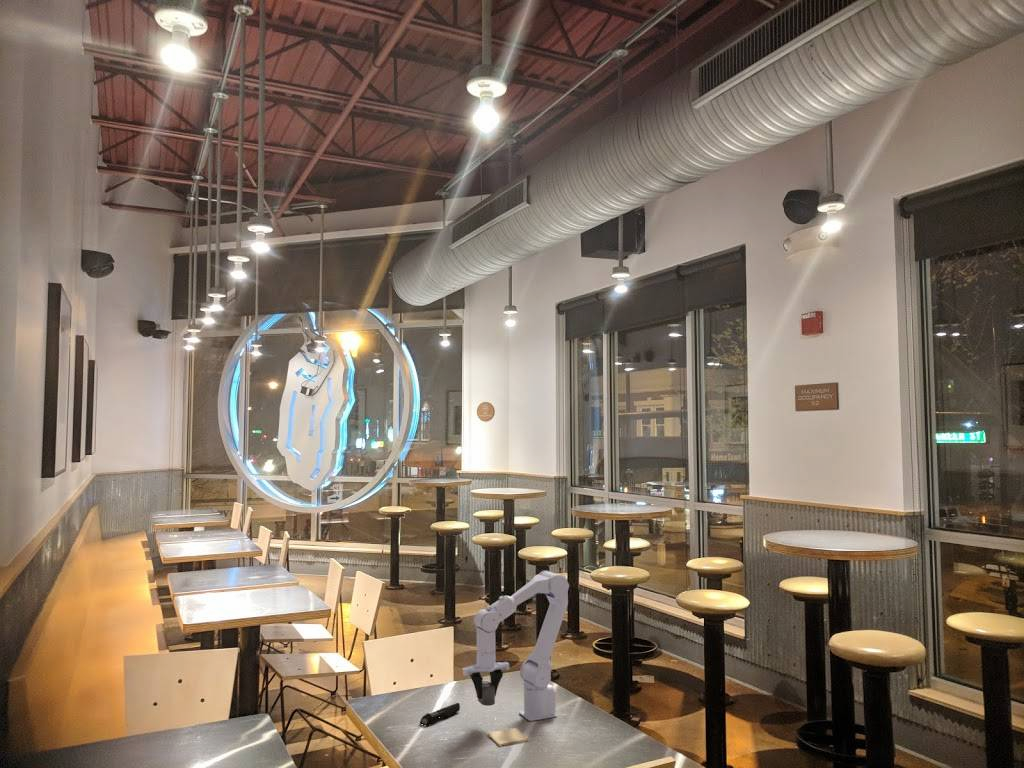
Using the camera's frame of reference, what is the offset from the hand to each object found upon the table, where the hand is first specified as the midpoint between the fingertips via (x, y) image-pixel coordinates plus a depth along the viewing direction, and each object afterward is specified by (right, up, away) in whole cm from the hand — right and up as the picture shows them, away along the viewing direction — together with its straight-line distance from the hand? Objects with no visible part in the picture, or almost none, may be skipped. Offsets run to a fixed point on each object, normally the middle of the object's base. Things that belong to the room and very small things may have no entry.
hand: (486, 696), depth 226 cm
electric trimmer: (-15, -9, +6) cm, 18 cm away
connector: (0, -1, +1) cm, 2 cm away
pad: (+7, -8, -10) cm, 14 cm away
